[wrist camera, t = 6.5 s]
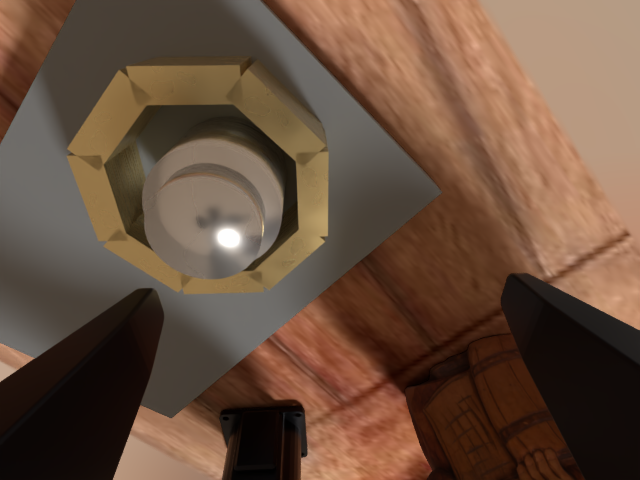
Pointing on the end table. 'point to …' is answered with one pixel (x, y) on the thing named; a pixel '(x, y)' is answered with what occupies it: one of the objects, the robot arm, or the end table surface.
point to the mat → (153, 143)
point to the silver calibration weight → (215, 199)
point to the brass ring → (128, 175)
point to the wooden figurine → (487, 419)
